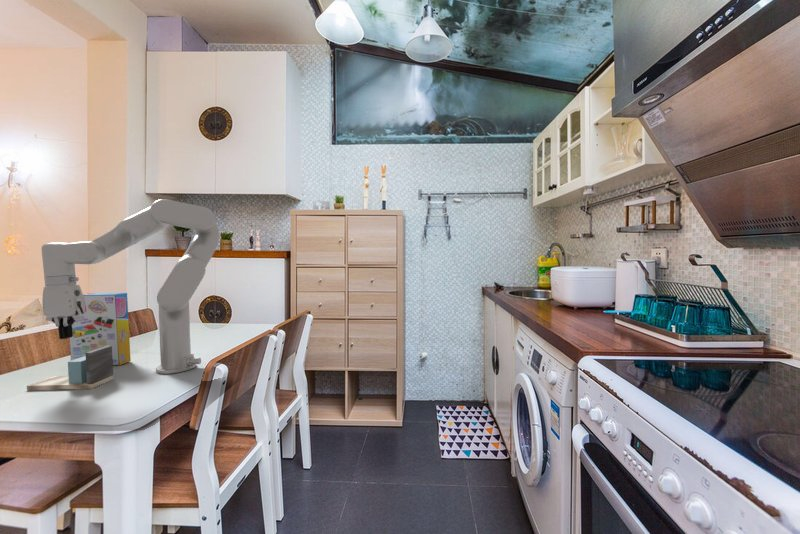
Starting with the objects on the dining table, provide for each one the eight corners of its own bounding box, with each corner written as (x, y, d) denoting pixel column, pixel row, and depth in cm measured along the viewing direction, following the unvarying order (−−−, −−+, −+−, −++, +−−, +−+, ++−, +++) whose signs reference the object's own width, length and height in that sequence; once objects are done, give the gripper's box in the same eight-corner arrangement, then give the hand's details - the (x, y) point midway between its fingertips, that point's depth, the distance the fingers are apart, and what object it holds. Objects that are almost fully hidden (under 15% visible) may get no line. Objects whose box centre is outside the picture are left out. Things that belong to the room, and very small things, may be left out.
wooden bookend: (113, 379, 127) (111, 345, 126) (92, 389, 118) (90, 352, 117) (52, 380, 126) (51, 346, 126) (26, 390, 117) (24, 354, 117)
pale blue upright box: (99, 376, 126) (98, 355, 125) (81, 383, 119) (80, 361, 118) (86, 376, 125) (85, 355, 125) (68, 383, 118) (67, 361, 118)
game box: (131, 361, 147) (128, 292, 146) (119, 366, 142) (116, 294, 141) (83, 361, 150) (79, 292, 148) (69, 365, 144) (66, 294, 143)
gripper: (93, 279, 125) (98, 334, 126) (47, 281, 124) (53, 336, 125) (74, 281, 117) (80, 339, 118) (25, 283, 117) (31, 342, 118)
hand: (66, 337), depth 122 cm, fingers closed
